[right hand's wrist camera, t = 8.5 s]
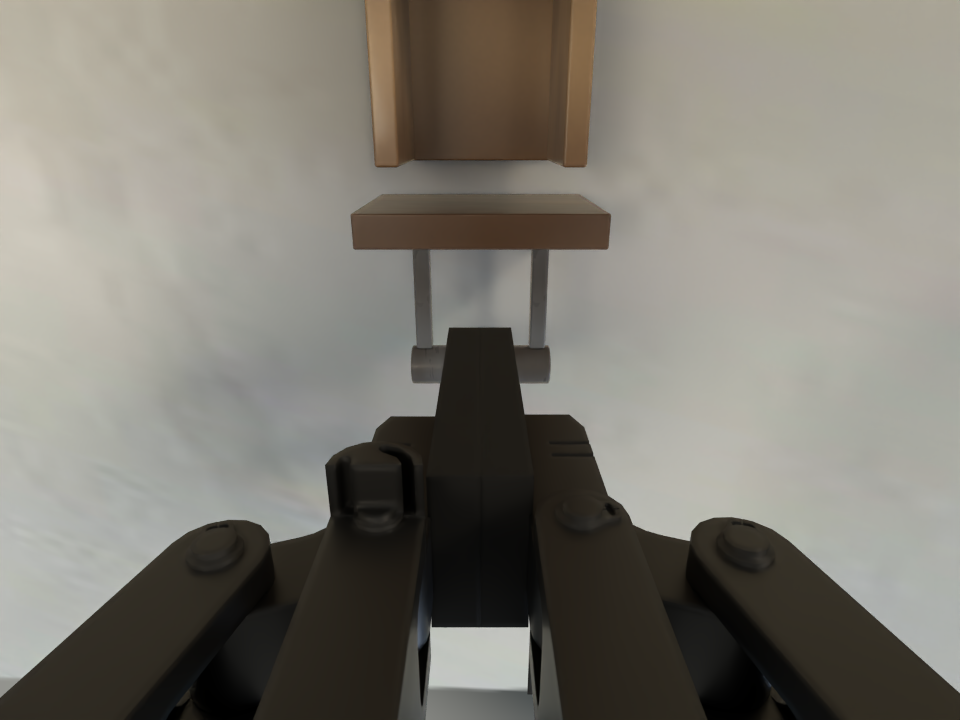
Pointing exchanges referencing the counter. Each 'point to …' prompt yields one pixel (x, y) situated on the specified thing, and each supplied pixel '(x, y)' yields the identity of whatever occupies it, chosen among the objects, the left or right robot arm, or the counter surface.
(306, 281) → the counter surface
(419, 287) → the drawer
